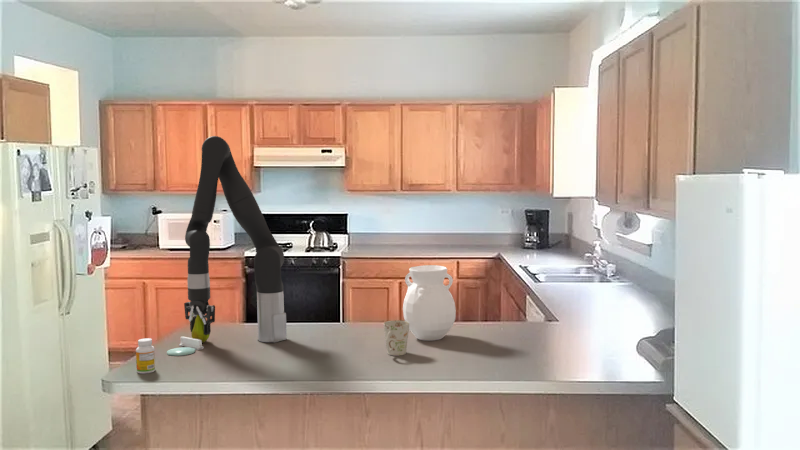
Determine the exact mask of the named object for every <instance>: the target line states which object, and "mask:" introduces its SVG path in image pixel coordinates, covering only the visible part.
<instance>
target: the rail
mask: <svg viewBox="0 0 800 450" xmlns="http://www.w3.org/2000/svg"><path fill="white" fill-rule="evenodd" d="M179 338H180V340H179V341H180V343H179V344H178V346H179V347H189V348H194V349H195V351H199V350H204V349H205V348H204V347H205V346H203V344H202V340H198V339H193V338H192V337H188V336H184V335H183V336H180V337H179Z"/></svg>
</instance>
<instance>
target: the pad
mask: <svg viewBox="0 0 800 450" xmlns="http://www.w3.org/2000/svg"><path fill="white" fill-rule="evenodd" d="M195 352H196V349H195V348H190V347H185V346H180V347H175V348H171V349H168V350H167V351H166V354H167V355H168V356H171V357H172V356H174V357H179V356H183V357H184V356H189V355H192V354H194V353H195Z"/></svg>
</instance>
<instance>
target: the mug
mask: <svg viewBox="0 0 800 450" xmlns="http://www.w3.org/2000/svg"><path fill="white" fill-rule="evenodd" d="M383 332H384V338H385V348H386V352H387V354H388V356H389V355H390V356H395V357H396V356H403V355H406V354H407V350H408V349H407V347H408V340H409V339H408V338H409V333H410V330H409V322H407V321H405V320H389V321H384V322H383Z"/></svg>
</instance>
